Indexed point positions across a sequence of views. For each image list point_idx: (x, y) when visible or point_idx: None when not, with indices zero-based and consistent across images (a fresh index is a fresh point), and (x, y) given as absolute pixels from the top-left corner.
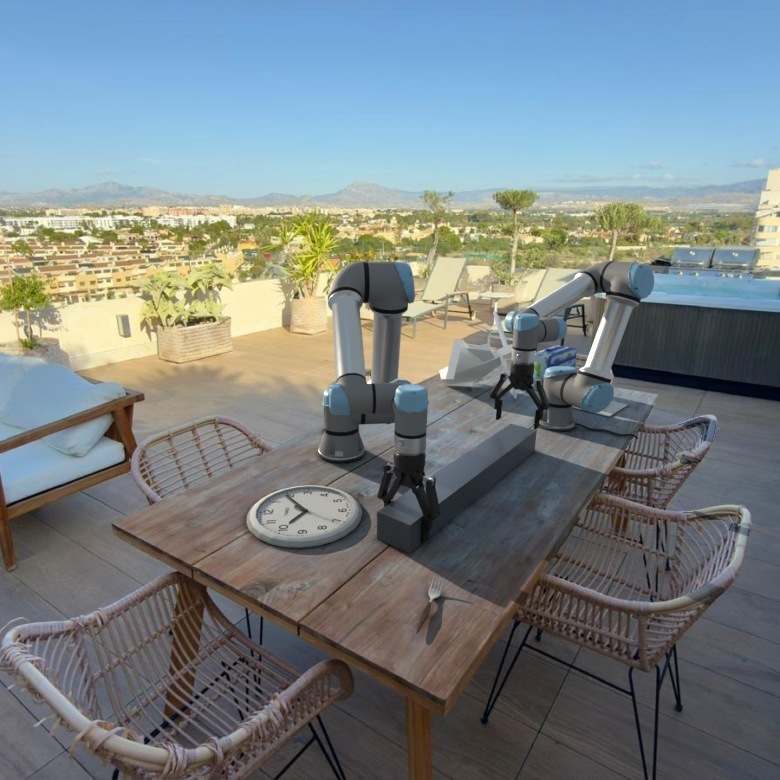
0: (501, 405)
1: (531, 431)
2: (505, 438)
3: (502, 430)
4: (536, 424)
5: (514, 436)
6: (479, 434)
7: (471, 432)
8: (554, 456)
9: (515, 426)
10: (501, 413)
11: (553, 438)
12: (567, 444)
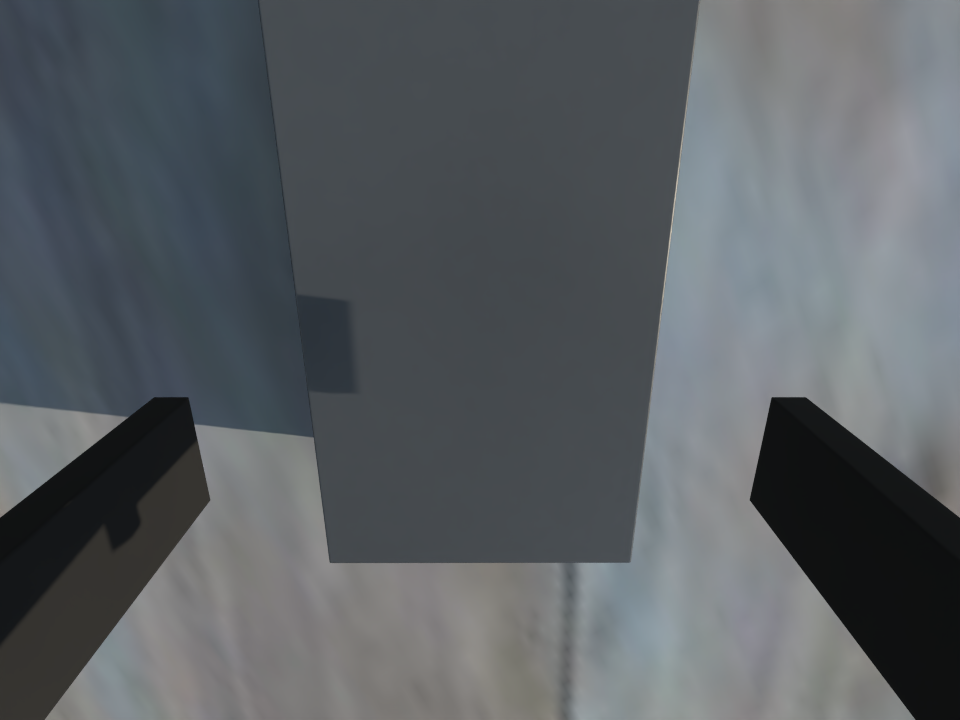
0: (895, 649)
1: (353, 503)
2: (494, 93)
3: (635, 334)
4: (104, 437)
5: (430, 243)
6: None
7: (923, 462)
8: (211, 435)
9: (553, 527)
10: (785, 546)
11: (370, 681)
12: (256, 650)
